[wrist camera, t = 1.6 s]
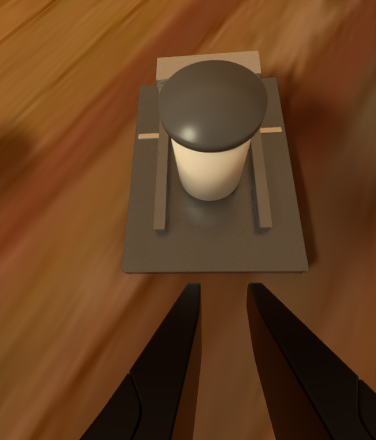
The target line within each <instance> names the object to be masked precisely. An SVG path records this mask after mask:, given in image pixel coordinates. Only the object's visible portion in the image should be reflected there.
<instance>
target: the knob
mask: <svg viewBox="0 0 376 440" xmlns="http://www.w3.org/2000/svg"><path fill="white" fill-rule="evenodd" d="M267 105H268V95H267V91H266V88H265V86H264V84H263V82H262V81H261V79H260V78H259V77H258V76H257V75H256V74H255V73H254V72H252V71H251V70H249V69H248V68H246V67H244V66H242V65H240V64H237V63H234V62H230V61H224V60H207V61H201V62H196V63H193V64H190V65H188V66H186V67H184V68H182V69H180V70H178V71H177V72H176V73H174V74H173V75H172V76H171V77H170V78H169V79H168V80H167V81H166V82H165V84H164V85H163V87H162V89H161V91H160V94H159V98H158V110H159V114H160V118H161V122H162V125H163V128H164V129H165V131H166V133H167V134H168V135H169V136H170V138H171V140H172V144H173V149H174V154H175V158H176V163H177V168H178V172H179V177H180V181H181V184H182V186H183V188H184V189H185V190H186V191H187V192H188V193H189V194H190V195H191V196H193V197H195V198H197V199H200V200H205V201H214V200H219V199H222V198H224V197H226V196H228V195H229V194H231V193H232V192H233V191H234V190H235V189H236V187H237V186H238V183H239V181H240V177H241V174H242V170H243V167H244V163H245V159H246V156H247V152H248V149H249V145H250V142H251V138H252V137H253V136H254V135H255V134H256V133H257V131H258V130H259V128H260V126H261V124H262V122H263V119H264V116H265V113H266V109H267Z"/></svg>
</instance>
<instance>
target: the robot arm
mask: <svg viewBox="0 0 376 440" xmlns="http://www.w3.org/2000/svg"><path fill="white" fill-rule="evenodd" d="M247 313H248V319H249V326H250V333H251V340H252V346H253V352H254V357H255V362H256V366H257V370H258V373H259V377H260V381H261V385H262V389H263V392H264V396H265V400H266V404H267V408H268V411H269V415H270V419H271V423H272V427H273V430H274V434H275V438H276V440H376V393H375V392H374V391H373V390H372V389H371V388H370V387H369V386H368V385H367V384H366V383H365V382H364V381H363V380H359V377H358V376H357V375H356V374H355V373H354V372H353V371H352V370H351V369H350V368H349V367H348V366H347V365H346V364H345V363H344V362H343V361H342V360H341V359H340V358H339V357H338V356H337V355H336V354H335V353H333V352H332V351H331V350H330V349H329V348H328V347H327V346H326V345H325V344H324V343H323V342H322V341H321V340H320V339H319V338H318V337H317V336H316V335H315V334H314V333H313V332H312V331H311V330H310V329H309V328H308V327H307V326H306V325H305V324H303V323H302V322H301V321H300V320H299V319H298V318H297V317H296V316H295V315H294V314H293V313H292V312H291V311H290V310H289V309H288V308H287V307H286V306H285V305H284V304H283V303H282V302H281V301H280V300H279V299H278V298H277V297H276V296H274V295H273V294H272V293H271V292H270V291H269V290H268V289H267V288H266V287H265V286H264V285H263V284H262V283H249V284H248V290H247ZM201 353H202V328H201V285H200V283H188V284H187V285H186V287H185V288H184V290H183V291H182V293H181V294H180V296H179V297H178V299H177V300H176V302H175V303H174V305H173V306H172V308H171V309H170V311H169V312H168V314H167V315H166V317H165V318H164V320H163V321H162V323H161V324H160V326H159V327H158V329H157V330H156V332H155V333H154V335H153V336H152V338H151V339H150V341H149V342H148V344H147V345H146V347H145V348H144V350H143V351H142V353H141V354H140V356H139V357H138V359H137V360H136V362H135V363H134V365H133V366H132V368H131V369H130V371H129V372H130V374H129V373H128V374H127V375H126V376H125V378H124V379H123V381H122V382H121V384H120V385H119V387H118V388H117V390H116V391H115V393H114V394H113V395H112V397H111V398H110V400H109V401H108V403H107V404H106V405H105V407H104V408H103V410H102V411H101V412H100V414H99V415H98V416H97V417H96V419H95V420H94V421H93V423H92V424H91V425H90V426H89V428H88V429H87V430H86V432H85V433H84V434H83V435H82V437H81V438H80V439H79V440H193V431H194V422H195V412H196V403H197V394H198V385H199V375H200V366H201Z"/></svg>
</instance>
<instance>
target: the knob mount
mask: <svg viewBox="0 0 376 440" xmlns="http://www.w3.org/2000/svg"><path fill="white" fill-rule="evenodd" d="M207 60H224V61H230V62H234V63H237V64H240V65H242V66H244V67H246V68H248V69H249V70H251V71H252V72H254V73H255V74H256V75H257V76H258V77H259V78H260V76H261V67H260V60H259V53H258V51H248V52H234V53H220V54H207V55H193V56H179V57H166V58H158V60H157V74H156V82H157V85H148V86H140V92H139V103H138V113H137V123H136V133H135V144H134V154H133V164H132V174H131V185H130V195H129V205H128V215H127V226H126V236H125V246H124V256H123V267H122V272H124V273H127V274H180V273H303V272H307V271H309V268H308V262H307V256H306V250H305V244H304V239H303V233H302V227H301V221H300V215H299V209H298V203H297V197H296V191H295V186H294V180H293V174H292V168H291V162H290V156H289V150H288V144H287V138H286V132H285V127H284V121H283V115H282V109H281V103H280V97H279V91H278V85H277V79H276V77H271V78H260V79H261V81H262V82H263V84H264V86H265V88H266V91H267V95H268V105H267V109H266V113H265V116H264V119H263V122H262V124H261V126H260V128H259V130H258V131H257V133H256V134H255V135H254V136H253V137H252V138H251V142H250V145H249V149H248V152H247V156H246V159H245V163H244V167H243V170H242V174H241V177H240V181H239V183H238V186H237V187H236V189H235V190H234V191H233V192H232V193H231V194H229V195H228V196H226V197H224V198H222V199H219V200H214V201H205V200H200V199H197V198H195V197H193V196H191V195H190V194H189V193H188V192H187V191H186V190H185V189H184V188H183V186H182V184H181V181H180V177H179V172H178V168H177V163H176V158H175V154H174V149H173V144H172V140H171V138H170V136H169V135H168V134H167V133H166V131H165V129H164V128H163V125H162V122H161V118H160V114H159V110H158V98H159V94H160V91H161V89H162V87H163V85H164V84H165V82H166V81H167V80H168V79H169V78H170V77H171V76H172V75H173V74H174V73H176V72H177V71H178V70H180V69H182V68H184V67H186V66H188V65H190V64H193V63H196V62H201V61H207Z"/></svg>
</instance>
